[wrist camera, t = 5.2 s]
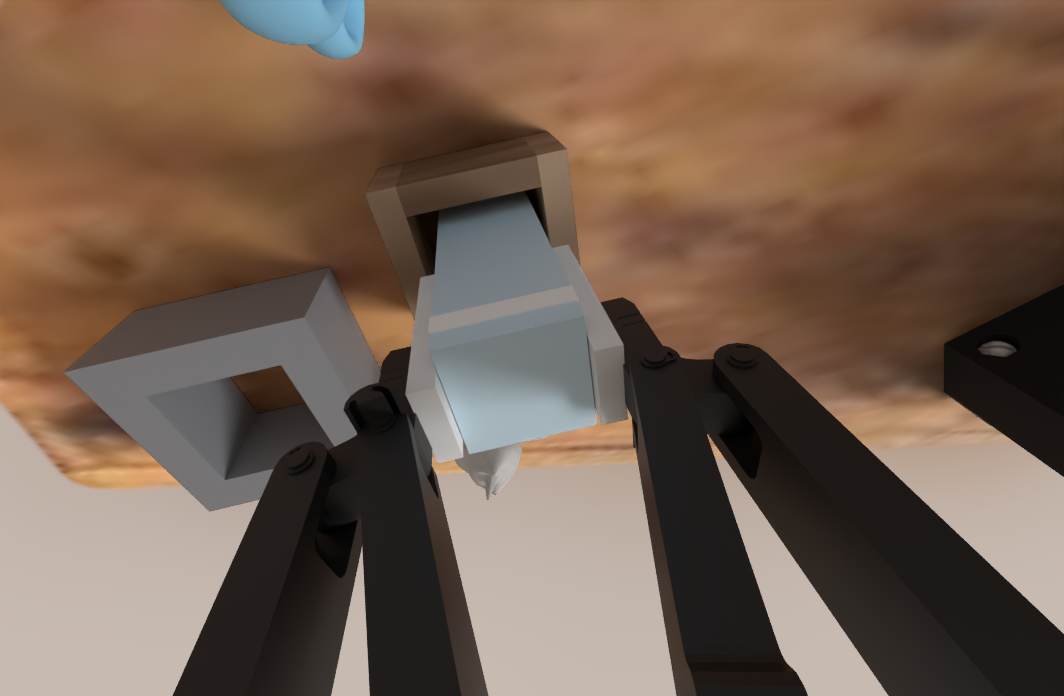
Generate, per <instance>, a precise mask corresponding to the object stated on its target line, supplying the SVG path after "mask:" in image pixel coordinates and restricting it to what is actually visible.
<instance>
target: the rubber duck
mask: <svg viewBox="0 0 1064 696" xmlns="http://www.w3.org/2000/svg"><path fill="white" fill-rule="evenodd" d="M546 437H547V436H546ZM546 437H541V438H537V439H533V440H540V439H544V438H546ZM521 452H522V448H521V445H520V444H519V443H516V444H511V445H507V446H503V447H498V448H494V449H490V450H485V451H481V452H477V453H473V454H469V452H468V450H467V447H466V444H465V442H464V439H463V458H459V459H455V461H456V463H457V464H458V466H459V467H461V468H462V469H463V470H465V471H466V472H467V473H469V474H470V476H471V478H472V479H473V480H474V482H475V483H476V484H477V485H479V486H481V487H483V488H485V489H486V497H487V500H488V499H489V497H490V495H491V493H493V494H494V495H496V494H497V493H498V492H499V491H500V490H501V488H502V487H503V486H504V485H505V484H506V483H507V482H508V481H509V479H510V478H511V477H512V475H513V474H514V472H515V471H516V469H517V466H518V464H519V460H520V456H521Z"/></svg>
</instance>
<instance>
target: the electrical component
mask: <svg viewBox="0 0 1064 696" xmlns="http://www.w3.org/2000/svg"><path fill="white" fill-rule="evenodd" d="M944 392H945V393H946V394H948V395H949V397H951V398H952V399H954V400H955V401H956V402H958V403H959V404H961V405H962V406H963V407H965V408H966V409H968V410H969V411H971V412H972V413H973V414H975V416H976V417H979V418H980V419H982V420H983V421H985V422H986V423H987V424H989V425H990V426H993V427H994V428H996V429H997V430H998V431H1000V432H1001V433H1003V434H1004V435H1005V436H1007V437H1008V438H1010V439H1011V440H1013V441H1014V442H1015V443H1017V444H1018V445H1020V446H1021V447H1022V448H1024V449H1025V450H1027V451H1028V452H1030V453H1031V454H1032V455H1034V456H1035V457H1036V458H1038V459H1039V460H1041V461H1042V462H1043V463H1045V464H1046V465H1048V466H1049V467H1050V468H1052V469H1053V470H1055V471H1056V472H1058V473H1059V474H1060V475H1062V476H1063V477H1064V285H1062V286H1060V287H1058V288H1056V289H1054V290H1052V291H1050V292H1048V293H1046V294H1043V295H1041V296H1039V297H1037V298H1035V299H1033V300H1031V301H1029V302H1027V303H1025V304H1023V305H1021V306H1019V307H1017V308H1015V309H1013V310H1011V311H1009V312H1007V313H1005V314H1003V315H1001V316H999V317H997V318H995V319H993V320H991V321H989V322H987V323H985V324H983V325H981V326H979V327H977V328H975V329H973V330H971V331H969V332H967V333H965V334H963V335H961V336H959V337H957V338H955V339H953V340H951V341H949V342H947V343H945V344H944Z"/></svg>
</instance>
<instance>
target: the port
mask: <svg viewBox="0 0 1064 696" xmlns="http://www.w3.org/2000/svg"><path fill="white" fill-rule="evenodd" d="M279 365H281V366H282V367H283V369H284V371H285V372H286V374H287V375H288V377H289V378H290V380H291V381H292V383H293V384H294V386H295V387H296V389H297V390H298V392H299V393H300V395H301V396H302V398H303V399H304V401H305V402H306V403H302V404H298V405H294V406H289V407H285V408H281V409H277V410H272V411H268V412H264V413H260V414H258V413H257V412H256V410H255V409H254V408H253V406H252V405H251V404H250V402H249V401H248V400H247V399H246V397H245V396H244V395H243V393H242V392H241V391H240V389H239V388H238V387H237V385H236V384H235V383H234V381H233V380H232V379H231V378H230V377H232V376H236V375H240V374H245V373H249V372H253V371H258V370H262V369H266V368H271V367H275V366H279ZM64 373H65V374H66V375H67V376H68V377H69V378H70V379H71V380H72V381H73V382H74V383H75V384H76V385H77V386H78V387H79V388H80V389H81V390H82V391H83V392H85V393H86V394H87V395H88V396H89V397H90V398H91V399H92V400H93V401H94V402H95V403H96V404H97V405H98V406H99V407H100V408H101V409H102V410H103V411H105V412H106V413H107V414H108V415H109V416H110V417H111V418H112V419H113V420H114V421H115V422H116V423H117V424H118V425H119V426H120V427H121V428H122V429H123V430H124V431H126V432H127V433H128V434H129V435H130V436H131V437H132V438H133V439H134V440H135V441H136V442H137V443H138V444H139V445H140V446H141V447H142V448H143V449H144V450H145V451H147V452H148V453H149V454H150V455H151V456H152V457H153V458H154V459H155V460H156V461H157V462H158V463H159V464H160V465H161V466H162V467H163V468H164V469H165V470H167V471H168V472H169V473H170V474H171V475H172V476H173V477H174V478H175V479H176V480H177V481H178V482H179V483H180V484H181V485H182V486H183V487H184V488H185V489H186V490H188V491H189V492H190V493H191V494H192V495H193V496H194V497H195V498H196V499H197V500H198V501H199V502H200V503H201V504H202V505H203V506H204V507H205V508H206V509H207V510H209V511H214V510H218V509H222V508H226V507H230V506H234V505H239V504H243V503H247V502H251V501H255V500H259V499H260V498H261V496H262V494H263V492H264V489H265V487H266V485H267V483H268V480H269V478H270V476H271V474H272V471H273V469H274V467H275V466H276V464H277V463H278V461H279V460H280V458H282V457H283V456H284V455H285V454H286V453H287V452H288V451H290V450H291V449H293V448H295V447H296V446H298V445H301V444H304V443H307V442H320V443H322V444H324V445H325V447H326V448H327V450H328V449H331V448H333V447H335V446H337V445H339V444H341V443H343V442H345V441H347V440H349V439H351V438H353V437H354V436H356V435H357V432H356V430H355V429H354V427H353V425H352V424H351V422H350V420H349V419H348V417H347V415H346V414H345V412H344V410H343V409H344V406H345V403H346V401H347V400H348V399H349V397H350V396H351V395H352V394H354V393H355V392H356V391H358V390H359V389H361V388H363V387H365V386H367V385H370V384H375V383H379V378H380V375H381V371H380V368H379V366H378V364H377V362H376V360H375V358H374V356H373V354H372V352H371V350H370V348H369V346H368V344H367V342H366V340H365V338H364V336H363V334H362V332H361V330H360V328H359V325H358V323H357V321H356V319H355V317H354V315H353V313H352V311H351V309H350V307H349V305H348V303H347V301H346V299H345V297H344V295H343V293H342V291H341V289H340V287H339V284H338V282H337V280H336V278H335V276H334V274H333V272H332V270H331V268H330V267H327V268H323V269H318V270H314V271H309V272H305V273H301V274H296V275H292V276H287V277H283V278H278V279H274V280H270V281H265V282H261V283H256V284H252V285H247V286H243V287H239V288H234V289H230V290H225V291H221V292H216V293H212V294H208V295H203V296H199V297H194V298H190V299H185V300H181V301H177V302H172V303H168V304H163V305H159V306H154V307H150V308H146V309H141V310H137V311H133V312H132V313H131V314H130V315H129V316H127V317H126V318H125V319H124V320H123V321H122V322H121V323H119V324H118V325H117V326H116V327H115V328H114V329H113V330H111V331H110V332H109V333H108V334H107V335H106V336H104V337H103V338H102V339H101V340H100V341H99V342H98V343H96V344H95V345H94V346H93V347H92V348H91V349H90V350H88V351H87V352H86V353H85V354H84V355H83V356H82V357H80V358H79V359H78V360H77V361H76V362H75V363H74V364H72V365H71V366H70V367H69V368H68V369H67V370H66V371H64Z"/></svg>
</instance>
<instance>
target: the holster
mask: <svg viewBox="0 0 1064 696" xmlns="http://www.w3.org/2000/svg"><path fill="white" fill-rule="evenodd" d="M530 189H531V190H532V196H533V202H534V208H535V213H536V215H537V217H538V219H539V221H540V224H541V226H542V228H543V230H544V232H545V234H546V236H547V238H548V240H549V243H550V245H551V247H552V248H555V247H559V246H564V245H569V247H570V249H571V251H572V252H573V254H574V256H575V258H576V260H577V261H578V263H579V265H580V259H579V250H578V241H577V232H576V224H575V215H574V206H573V198H572V189H571V180H570V171H569V163H568V154H567V149H566V148H565V147H564V146H563V145H562V144H561V143H560V142H559V141H558V140H557V139H556V138H554V137H553V136H552V135H551V134H550V133H549V132H548V131H547V132H543V133H538V134H534V135H529V136H525V137H520V138H516V139H511V140H507V141H502V142H497V143H493V144H488V145H484V146H479V147H475V148H470V149H466V150H461V151H457V152H452V153H447V154H443V155H438V156H434V157H429V158H425V159H420V160H416V161H411V162H407V163H402V164H397V165H393V166H388V167H384V168H379V169H377V171H376V173H375V175H374V177H373V179H372V181H371V183H370V185H369V187H368V188H367V190H366V192H365V196H366V199H367V201H368V204H369V206H370V209H371V211H372V214H373V216H374V219H375V221H376V224H377V226H378V229H379V232H380V234H381V237H382V239H383V242H384V244H385V247H386V249H387V252H388V254H389V257H390V260H391V262H392V265H393V267H394V270H395V272H396V275H397V277H398V280H399V282H400V285H401V287H402V290H403V293H404V295H405V298H406V300H407V303H408V305H409V308H410V310H411V313H412V315H413V318H414V321H415V315H416V307H417V300H418V292H419V284H420V277H425V276H429V275H434V274H435V258H434V255H433V252H432V248H431V245H430V242H429V239H428V236H427V233H426V230H425V227H424V224H423V221H422V218H421V215H420V214H422V213H427V212H431V211H436V210H440V209H445V208H449V207H454V206H458V205H462V204H467V203H471V202H476V201H480V200H485V199H489V198H494V197H498V196H503V195H507V194H512V193H516V192H521V191H525V190H530Z"/></svg>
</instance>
